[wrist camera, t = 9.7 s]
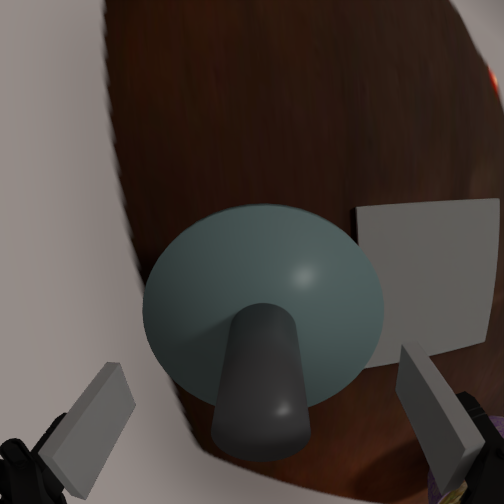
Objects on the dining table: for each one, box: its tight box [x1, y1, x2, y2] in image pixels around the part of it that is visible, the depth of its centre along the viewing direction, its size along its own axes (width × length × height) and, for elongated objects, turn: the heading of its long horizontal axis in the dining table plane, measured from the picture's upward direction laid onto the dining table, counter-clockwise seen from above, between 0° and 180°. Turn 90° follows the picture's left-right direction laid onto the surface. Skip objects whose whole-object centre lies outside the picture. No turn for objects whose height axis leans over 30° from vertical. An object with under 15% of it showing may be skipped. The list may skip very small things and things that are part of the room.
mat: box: [355, 198, 500, 368], centre depth 30 cm, size 18×18×1 cm
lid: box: [143, 203, 384, 462], centre depth 15 cm, size 15×15×9 cm
